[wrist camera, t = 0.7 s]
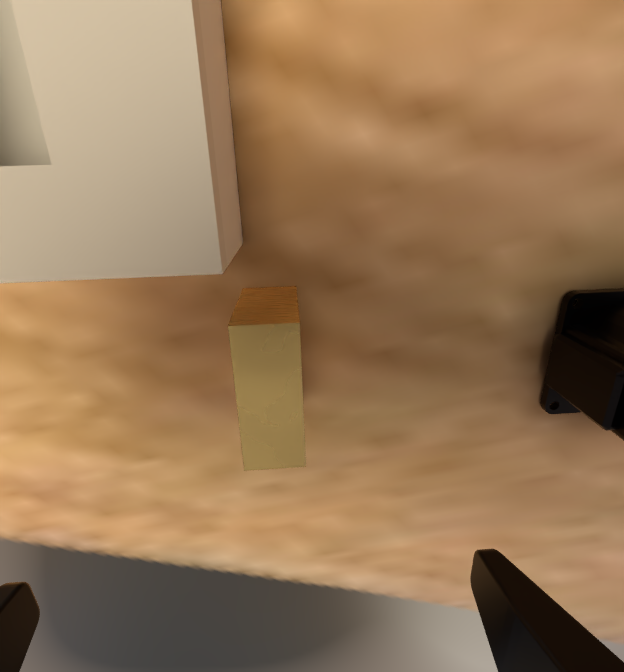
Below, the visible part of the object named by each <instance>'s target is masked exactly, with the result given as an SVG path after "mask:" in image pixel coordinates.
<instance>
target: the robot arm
mask: <svg viewBox="0 0 624 672" xmlns="http://www.w3.org/2000/svg"><path fill="white" fill-rule="evenodd" d="M576 299H577V300H578V301H577V303H576V304H575V305H574V306H573V302H574V301H575V300H576ZM552 402H554V403H553V404H552V405H550V404H551V403H552ZM541 407H542V408H543V409H544V410H545V411H546V412H547V413H549V414H561V413H577V412H582V413H584V414H585V415H586V416H587V417H589V418H590V419H591V420H593V421H594V422H595V423H596V424H598V425H599V426H600V427H601V428H603V429H605V430H611V431H612V432H613V433H615V434H616V435H617V436H619V437H620V438H621V439H623V440H624V289H606V290H584V291H572V292H569V293H568V294H566V296H565V297H564V298H563V301H562V304H561V309H560V314H559V318H558V323H557V328H556V332H555V337H554V339H553V344H552V349H551V353H550V358H549V363H548V368H547V372H546V377H545V384H544V388H543V393H542V398H541ZM470 579H471V587H472V591H473V594H474V598H475V601H476V604H477V607H478V610H479V613H480V616H481V619H482V623H483V626H484V629H485V632H486V635H487V638H488V641H489V645H490V648H491V651H492V654H493V657H494V660H495V663H496V666H497V669H498V672H624V662H623V661H622V660H620V659H619V658H618V657H617V656H616V655H615V654H614V653H613V652H611V651H610V650H609V649H608V648H607V647H606V646H605V645H604V644H602V643H601V642H600V641H599V640H598V639H597V638H596V637H595V636H593V635H592V634H591V633H590V632H589V631H588V630H587V629H586V628H584V627H583V626H582V625H581V624H580V623H579V622H578V621H577V620H575V619H574V618H573V617H572V616H571V615H570V614H569V613H568V612H566V611H565V610H564V609H563V608H562V607H561V606H560V605H559V604H557V603H556V602H555V601H554V600H553V599H552V598H551V597H550V596H548V595H547V594H546V593H545V592H544V591H543V590H542V589H541V588H539V587H538V586H537V585H536V584H535V583H534V582H533V581H532V580H531V579H529V578H528V577H527V576H526V575H525V574H524V573H523V572H522V571H520V570H519V569H518V568H517V567H516V566H515V565H514V564H513V563H511V562H510V561H509V560H508V559H507V558H506V557H505V556H504V555H502V554H501V553H500V552H499V551H497V550H495V549H482V550H477V551H476V552H475V554H474V558H473V565H472V571H471V578H470ZM39 615H40V609H39V606H38V603H37V601H36V599H35V596H34V594H33V592H32V589H31V587H30V586H29V584H28V583H26V582H15V583H6V584H3V585H2V586H0V672H19V671H20V669H21V666H22V663H23V661H24V658H25V656H26V653H27V650H28V648H29V645H30V642H31V640H32V637H33V635H34V632H35V629H36V627H37V624H38V621H39Z"/></svg>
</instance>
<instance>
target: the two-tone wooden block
mask: <svg viewBox="0 0 624 672" xmlns="http://www.w3.org/2000/svg"><path fill="white" fill-rule="evenodd" d="M228 332H229V341H230V350H231V358H232V367H233V376H234V385H235V394H236V402H237V411H238V420H239V429H240V437H241V446H242V455H243V464H244V471H247V470H263V469H278V468H294V467H306V459H305V435H304V411H303V388H302V364H301V341H300V320H299V310H298V300H297V289H296V286H288V287H265V288H243V289H242V292H241V294H240V297H239V299H238V302H237V304H236V307H235V309H234V312H233V314H232V317H231V319H230V322H229V324H228Z"/></svg>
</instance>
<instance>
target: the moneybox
mask: <svg viewBox="0 0 624 672" xmlns="http://www.w3.org/2000/svg"><path fill="white" fill-rule="evenodd" d="M242 244H243V237H242V226H241V215H240V204H239V193H238V182H237V171H236V160H235V149H234V138H233V127H232V116H231V105H230V94H229V83H228V72H227V62H226V51H225V40H224V29H223V18H222V7H221V0H0V283H20V282H44V281H68V280H92V279H116V278H140V277H164V276H188V275H212V274H223V273H224V271H225V270H226V268H227V267H228V265H229V264H230V262H231V261H232V259H233V258H234V256H235V255H236V253H237V252H238V250H239V249H240V247H241V246H242Z"/></svg>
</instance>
